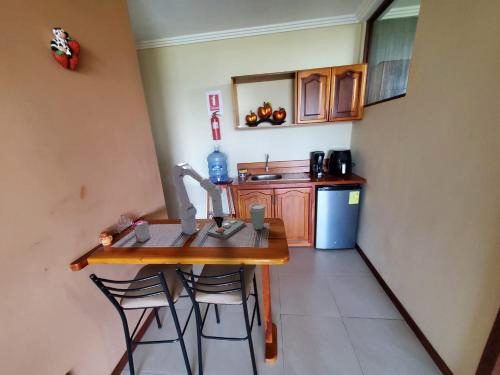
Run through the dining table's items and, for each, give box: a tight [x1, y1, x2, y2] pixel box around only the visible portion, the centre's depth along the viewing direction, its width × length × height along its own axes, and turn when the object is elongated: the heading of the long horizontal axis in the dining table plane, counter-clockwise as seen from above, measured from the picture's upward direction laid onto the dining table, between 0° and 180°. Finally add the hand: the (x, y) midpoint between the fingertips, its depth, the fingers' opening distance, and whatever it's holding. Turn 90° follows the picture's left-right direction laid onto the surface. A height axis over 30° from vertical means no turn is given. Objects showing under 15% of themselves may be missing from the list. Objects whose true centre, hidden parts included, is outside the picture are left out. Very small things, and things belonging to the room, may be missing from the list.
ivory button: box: [224, 223, 230, 229], centre depth 126 cm, size 4×4×2 cm
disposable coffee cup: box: [248, 203, 266, 230], centre depth 124 cm, size 11×11×15 cm
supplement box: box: [132, 220, 151, 243], centre depth 119 cm, size 6×6×12 cm
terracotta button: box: [217, 227, 223, 233], centre depth 120 cm, size 4×4×2 cm
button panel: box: [206, 218, 246, 240], centre depth 126 cm, size 14×21×2 cm, turn 148°
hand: (219, 227), depth 120 cm, fingers closed
